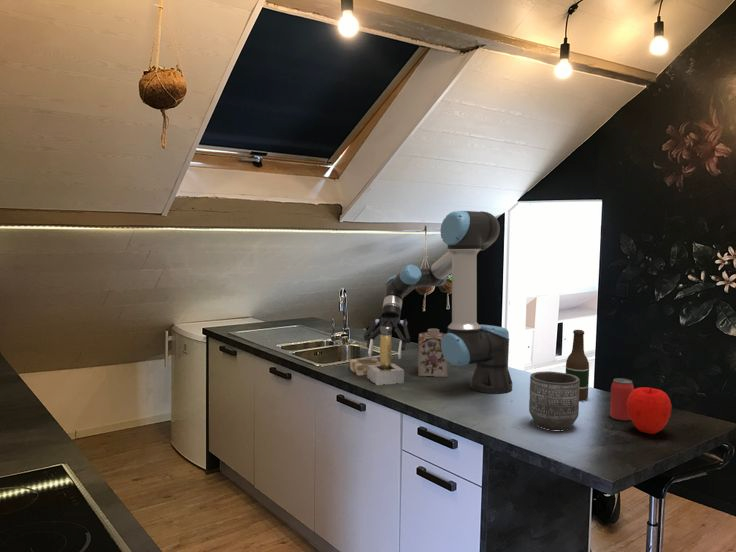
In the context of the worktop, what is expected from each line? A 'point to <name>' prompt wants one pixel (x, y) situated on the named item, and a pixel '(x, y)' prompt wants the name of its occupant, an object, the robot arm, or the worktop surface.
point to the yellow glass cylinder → (385, 347)
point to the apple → (649, 409)
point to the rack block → (362, 365)
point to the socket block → (385, 374)
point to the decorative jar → (431, 354)
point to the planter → (554, 399)
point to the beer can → (620, 398)
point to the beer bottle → (579, 364)
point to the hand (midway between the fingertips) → (384, 356)
